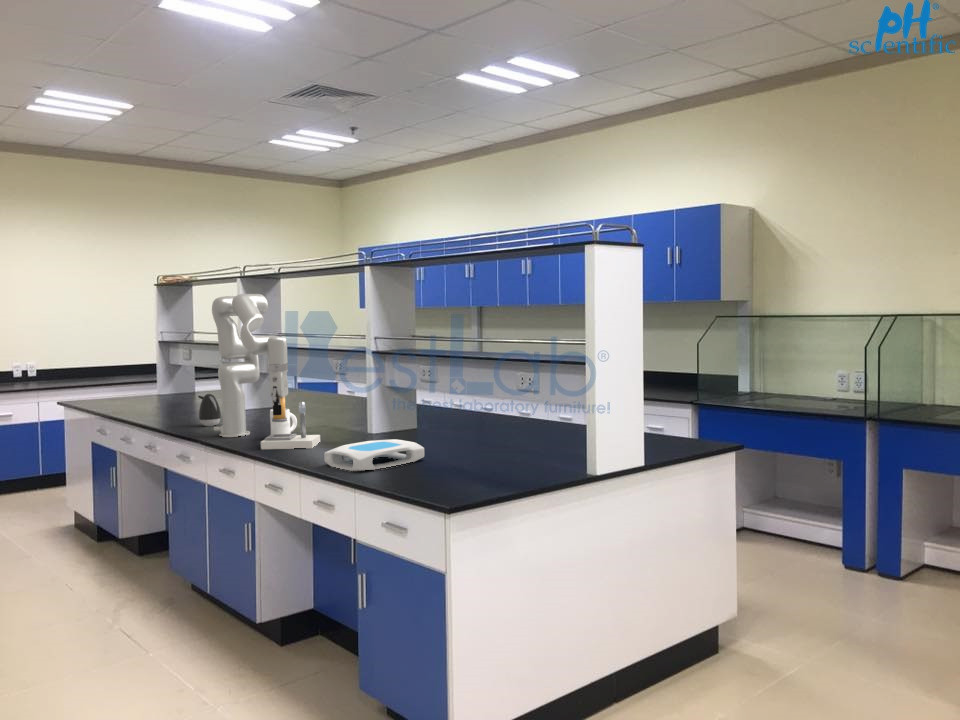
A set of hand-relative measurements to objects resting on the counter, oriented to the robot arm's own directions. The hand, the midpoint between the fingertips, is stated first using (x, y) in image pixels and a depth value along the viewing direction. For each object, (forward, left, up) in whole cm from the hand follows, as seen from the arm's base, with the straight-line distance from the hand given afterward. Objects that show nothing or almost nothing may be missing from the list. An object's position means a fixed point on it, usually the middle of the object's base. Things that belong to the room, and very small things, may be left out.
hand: (279, 413), depth 310 cm
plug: (0, 0, -3) cm, 3 cm away
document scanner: (+43, -38, -13) cm, 59 cm away
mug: (-4, +21, -13) cm, 25 cm away
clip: (+11, -7, -10) cm, 16 cm away
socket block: (+4, 0, -13) cm, 14 cm away
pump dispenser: (-50, +60, -13) cm, 79 cm away
